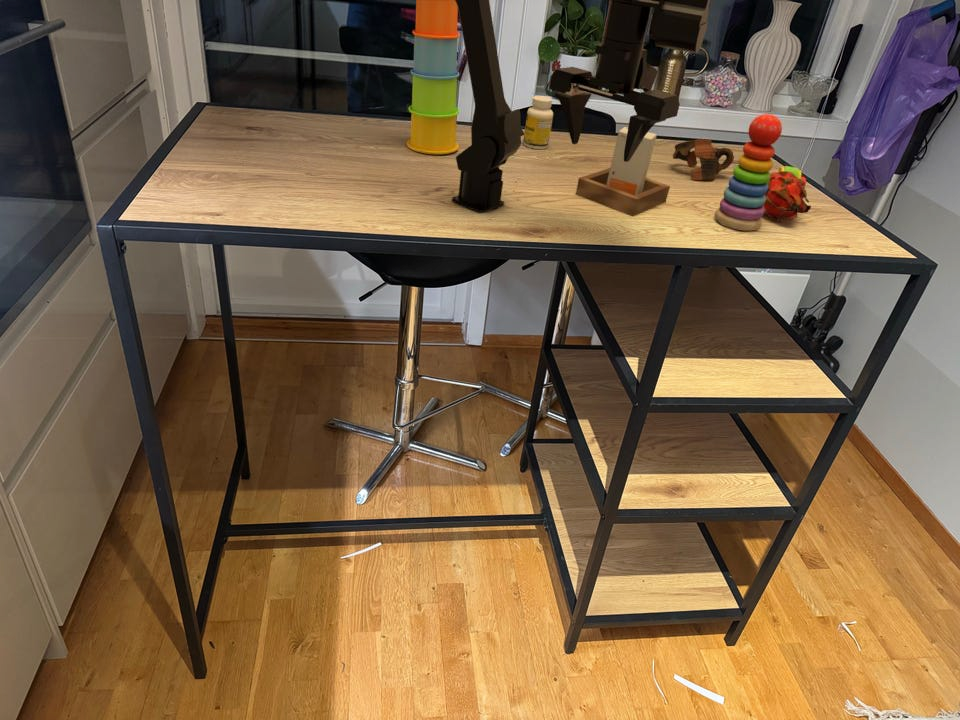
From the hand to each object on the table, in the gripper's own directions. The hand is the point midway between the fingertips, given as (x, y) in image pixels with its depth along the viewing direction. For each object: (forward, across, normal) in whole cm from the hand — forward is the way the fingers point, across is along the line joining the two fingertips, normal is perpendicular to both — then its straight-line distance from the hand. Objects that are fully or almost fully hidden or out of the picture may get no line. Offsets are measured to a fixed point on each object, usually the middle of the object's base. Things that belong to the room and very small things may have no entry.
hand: (600, 152), depth 106 cm
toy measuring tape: (+13, -13, -52) cm, 55 cm away
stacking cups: (+13, +43, -10) cm, 46 cm away
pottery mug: (+13, +3, -48) cm, 50 cm away
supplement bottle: (+13, +33, -31) cm, 47 cm away
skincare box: (+13, +5, -20) cm, 25 cm away
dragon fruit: (+13, -17, -39) cm, 44 cm away
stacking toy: (+13, -14, -28) cm, 34 cm away
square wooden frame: (+13, +5, -24) cm, 28 cm away
